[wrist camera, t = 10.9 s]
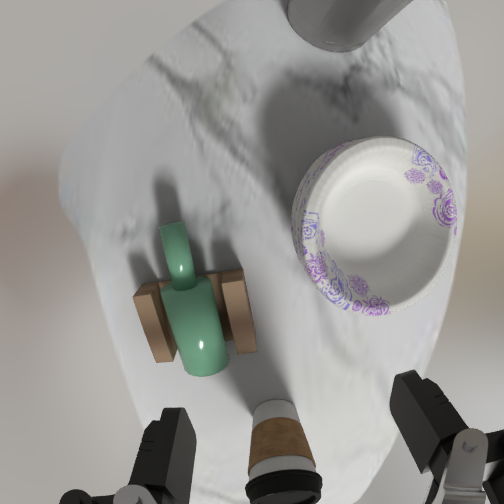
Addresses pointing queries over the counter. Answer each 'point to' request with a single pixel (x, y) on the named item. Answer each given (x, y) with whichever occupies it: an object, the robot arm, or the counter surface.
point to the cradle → (228, 304)
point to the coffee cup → (280, 458)
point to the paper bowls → (374, 224)
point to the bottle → (191, 307)
